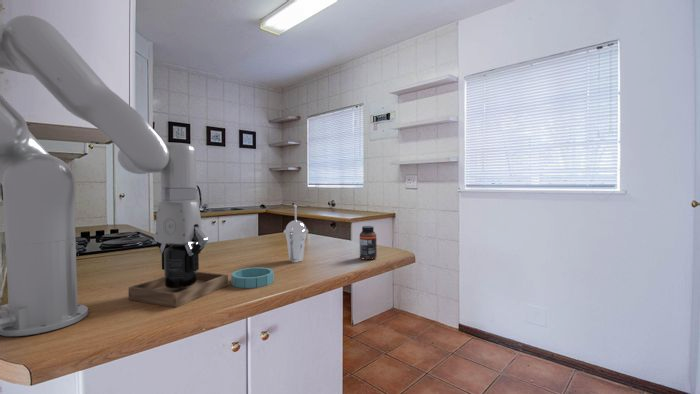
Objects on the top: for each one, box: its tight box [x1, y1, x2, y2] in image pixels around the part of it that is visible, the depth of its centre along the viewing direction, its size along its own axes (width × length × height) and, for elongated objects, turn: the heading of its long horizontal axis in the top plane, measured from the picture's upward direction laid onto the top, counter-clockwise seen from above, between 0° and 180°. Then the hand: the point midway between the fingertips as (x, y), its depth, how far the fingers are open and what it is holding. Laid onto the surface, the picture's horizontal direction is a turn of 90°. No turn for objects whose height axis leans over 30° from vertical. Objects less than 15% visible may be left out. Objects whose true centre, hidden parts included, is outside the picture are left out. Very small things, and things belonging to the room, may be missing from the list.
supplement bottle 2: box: [359, 225, 378, 259], centre depth 116 cm, size 6×6×11 cm
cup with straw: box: [282, 202, 309, 263], centre depth 111 cm, size 8×9×20 cm
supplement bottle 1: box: [163, 244, 196, 288], centre depth 79 cm, size 7×7×12 cm
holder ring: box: [230, 267, 275, 289], centre depth 88 cm, size 11×11×2 cm
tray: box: [127, 270, 229, 308], centre depth 79 cm, size 16×14×3 cm
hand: (180, 269), depth 79 cm, fingers closed on supplement bottle 1, 6 cm apart
